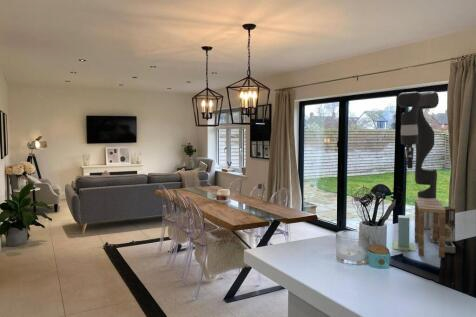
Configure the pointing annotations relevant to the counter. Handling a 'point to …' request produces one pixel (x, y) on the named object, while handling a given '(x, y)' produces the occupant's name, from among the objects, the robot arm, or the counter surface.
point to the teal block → (403, 231)
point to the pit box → (449, 247)
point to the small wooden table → (436, 208)
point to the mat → (411, 247)
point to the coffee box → (446, 224)
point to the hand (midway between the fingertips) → (409, 167)
